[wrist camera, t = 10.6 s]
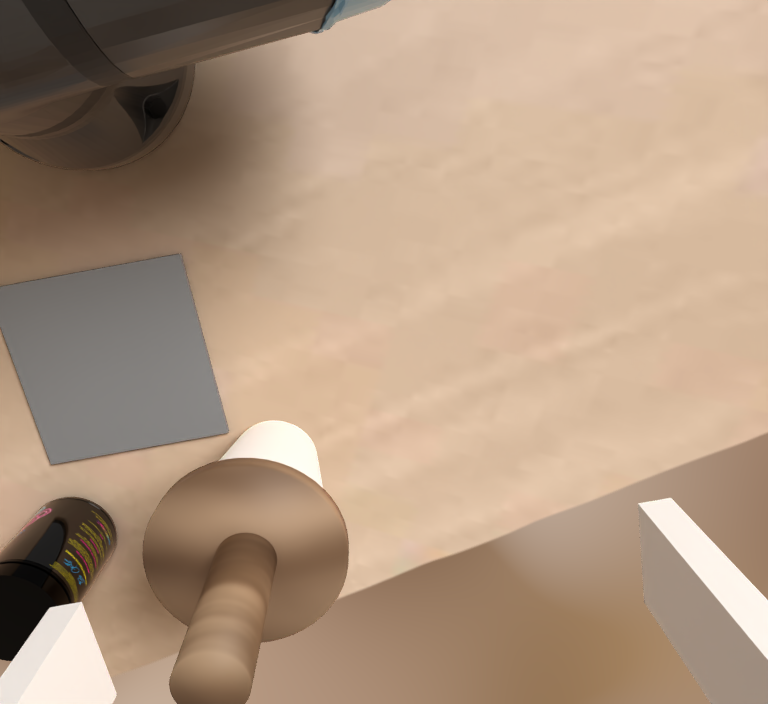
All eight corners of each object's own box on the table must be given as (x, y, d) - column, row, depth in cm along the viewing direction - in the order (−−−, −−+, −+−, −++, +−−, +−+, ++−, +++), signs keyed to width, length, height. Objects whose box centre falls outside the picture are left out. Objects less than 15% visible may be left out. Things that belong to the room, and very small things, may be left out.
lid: (124, 477, 36) (33, 597, 26) (326, 441, 36) (314, 547, 26) (179, 643, 39) (118, 807, 29) (365, 611, 39) (367, 763, 29)
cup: (201, 483, 50) (154, 579, 38) (243, 387, 47) (206, 457, 36) (305, 524, 51) (290, 628, 39) (351, 432, 49) (349, 513, 37)
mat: (-11, 288, 44) (-14, 289, 44) (180, 253, 44) (179, 254, 44) (53, 462, 48) (51, 464, 48) (229, 430, 48) (228, 432, 48)
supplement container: (74, 476, 49) (1, 555, 39) (138, 531, 51) (84, 621, 41) (17, 527, 50) (-68, 616, 40) (82, 579, 52) (15, 678, 42)
